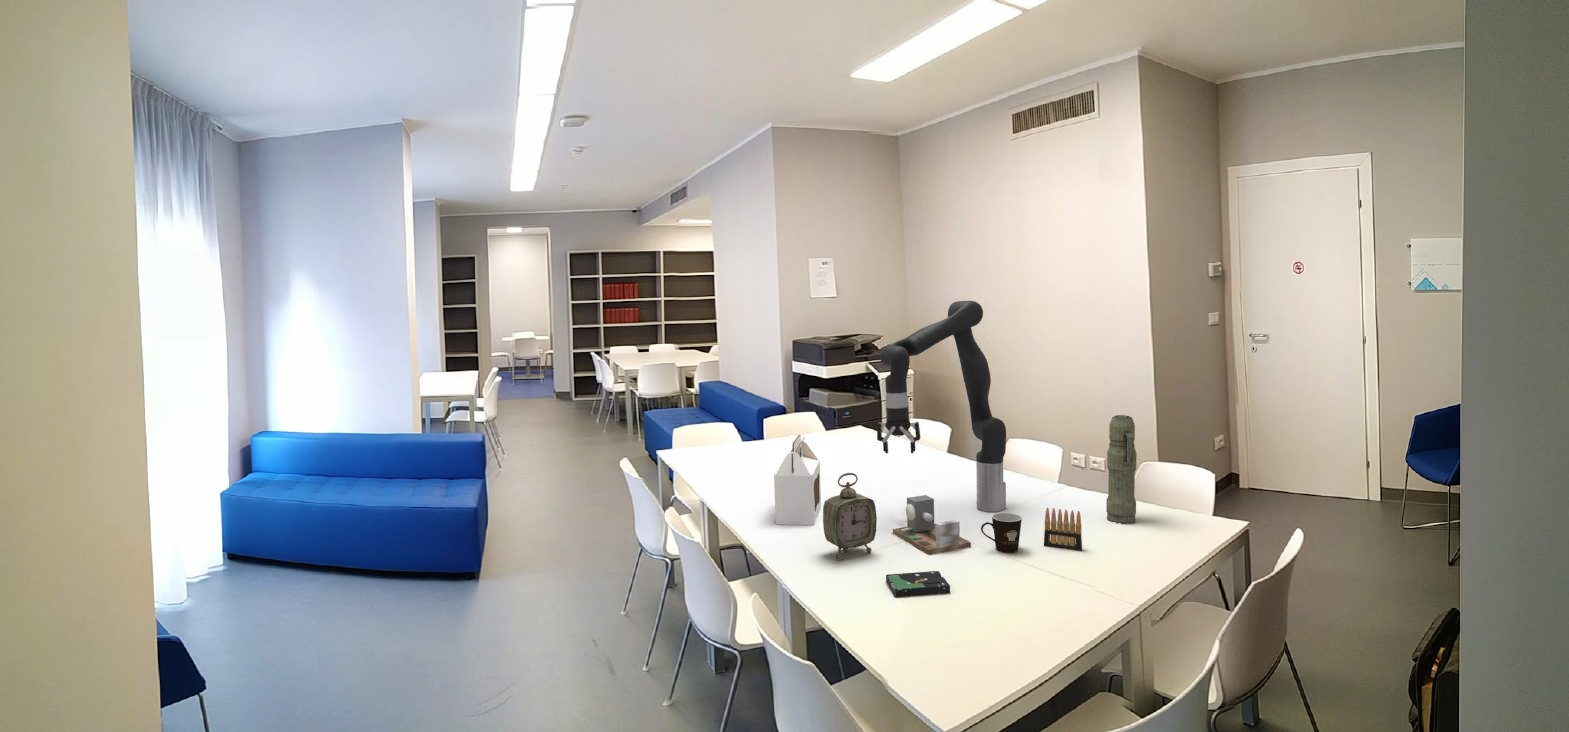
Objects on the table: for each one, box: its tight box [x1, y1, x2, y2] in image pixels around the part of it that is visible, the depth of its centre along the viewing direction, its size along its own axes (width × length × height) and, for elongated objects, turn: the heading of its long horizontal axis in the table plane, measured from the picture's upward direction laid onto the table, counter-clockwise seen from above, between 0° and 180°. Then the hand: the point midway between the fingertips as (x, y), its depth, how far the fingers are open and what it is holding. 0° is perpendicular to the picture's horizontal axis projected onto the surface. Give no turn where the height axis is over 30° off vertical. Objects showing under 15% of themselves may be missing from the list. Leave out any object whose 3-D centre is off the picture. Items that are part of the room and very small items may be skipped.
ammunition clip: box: [1043, 507, 1083, 552], centre depth 217 cm, size 11×2×12 cm, turn 61°
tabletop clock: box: [822, 472, 878, 561], centre depth 217 cm, size 14×9×25 cm, turn 117°
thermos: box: [1105, 414, 1138, 525], centre depth 239 cm, size 9×12×35 cm
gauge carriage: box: [901, 494, 935, 532], centre depth 231 cm, size 10×8×10 cm
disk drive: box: [885, 570, 951, 598], centre depth 192 cm, size 10×3×15 cm
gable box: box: [773, 434, 822, 526], centre depth 257 cm, size 22×13×28 cm, turn 170°
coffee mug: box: [980, 512, 1023, 554], centre depth 218 cm, size 12×9×10 cm
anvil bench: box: [892, 519, 972, 556], centre depth 228 cm, size 15×22×8 cm
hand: (899, 452), depth 243 cm, fingers open, 8 cm apart
